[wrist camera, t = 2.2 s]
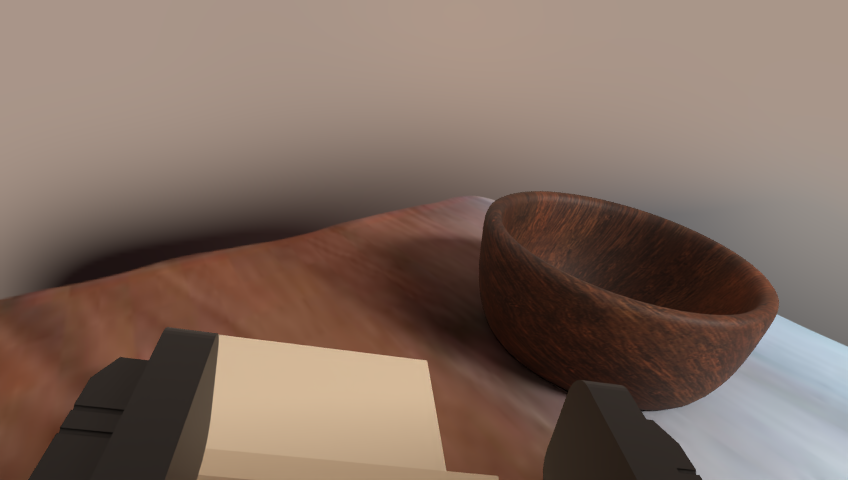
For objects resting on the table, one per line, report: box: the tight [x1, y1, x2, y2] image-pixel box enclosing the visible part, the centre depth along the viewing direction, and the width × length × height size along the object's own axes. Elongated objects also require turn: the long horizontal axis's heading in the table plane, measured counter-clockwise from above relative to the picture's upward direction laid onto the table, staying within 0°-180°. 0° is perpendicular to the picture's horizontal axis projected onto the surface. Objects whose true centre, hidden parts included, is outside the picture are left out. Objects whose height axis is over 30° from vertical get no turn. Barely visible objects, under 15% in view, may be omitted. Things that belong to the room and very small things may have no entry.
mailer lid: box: [197, 335, 499, 480], centre depth 28 cm, size 19×13×9 cm
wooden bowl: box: [479, 191, 779, 410], centre depth 58 cm, size 25×25×10 cm
